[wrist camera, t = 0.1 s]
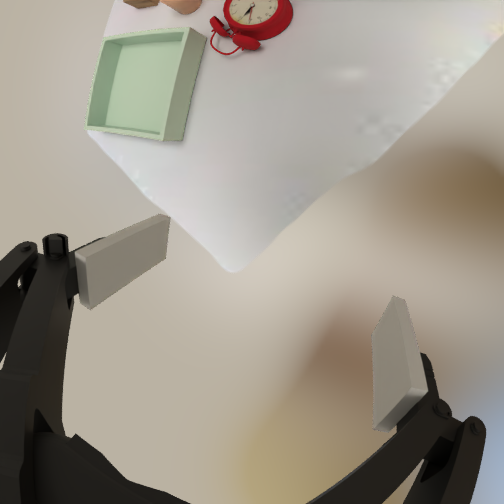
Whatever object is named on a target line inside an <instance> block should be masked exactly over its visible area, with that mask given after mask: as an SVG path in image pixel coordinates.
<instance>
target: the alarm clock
mask: <svg viewBox="0 0 504 504" xmlns="http://www.w3.org/2000/svg"><path fill="white" fill-rule="evenodd" d="M223 12H224V17H225V19H226V21H227V22H228V25H229V27H230V29H231V30H232V31H233V32H234V33H233V34H232V35H230V33H227V31H228V30H230V29H228V30H226V31H225V30H224V29H223V28H222V27H223V26H224V24H223V23H222V22H221V21H220V20H219V19H218V18H217V17H215V16H213V17H212V18H211V19H210V24H211V26H212V27H213V30H212V31H211V32H213V31H214V34H213V35H212V37H211V40H210V44H211V46H212V48H213V49H214V50H216V51H217V52H219V53H221V54H224V55H230V54H232V53H234V52H236V51H237V50H238V49H239V48H241V47H242V51H243V50H244V49H249V50H256V49H258V48H259V47H260V45H261V44H260V42H259V41H257V40H265V39H269V38H272V37H274V36H276V35H278V34H280V33H281V32H282V31H283V30H285V29H286V28H287V26H288V25H289V23H290V22H291V19H292V16H293V9H292V6H291V4H290V2H289V0H226V1H225V4H224V8H223ZM216 32H217V33H218V34H219V35H221V36H224V37H226V36H229V35H230V36H229V37H230V38H232V36H233V35H234V34H236V35H234V36H233V39H232V40H233V42H234V43H235V44H236V45H237V46H239V47H238V48H237V49H236V50H234V51H233V52H231V53H222V52H220V51H218V50H217V49H216V48H215V47H214V46H213V45H212V39H213V37H214V35H215V33H216Z"/></svg>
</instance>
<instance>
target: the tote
mask: <svg viewBox="0 0 504 504" xmlns="http://www.w3.org/2000/svg"><path fill="white" fill-rule="evenodd" d="M206 39H207V38H206V37H205V36H203V35H202V34H200V33H199V32H197V31H195V30H194V29H192V28H191V27H184V28H168V29H157V30H147V31H139V32H132V33H126V34H120V35H114V36H109V37H104V38H103V41H102V45H101V48H100V52H99V55H98V59H97V63H96V67H95V71H94V76H93V80H92V85H91V90H90V95H89V100H88V106H87V112H86V118H85V125H84V130H93V131H101V132H109V133H117V134H124V135H130V136H137V137H143V138H149V139H155V140H160V141H182V139H183V134H184V129H185V124H186V119H187V115H188V110H189V105H190V101H191V97H192V92H193V88H194V84H195V80H196V76H197V72H198V68H199V64H200V61H201V57H202V53H203V50H204V46H205V43H206Z"/></svg>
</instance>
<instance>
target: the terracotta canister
mask: <svg viewBox="0 0 504 504" xmlns="http://www.w3.org/2000/svg"><path fill="white" fill-rule="evenodd" d="M159 1H161V2H162V3H164V4H166V5H167V6H169V7H171V8H172V9H174V10H176V11H177V12H179V13H181V14H190V13H192V12H194V11H195V10H197V9H198V8H199V6H200V5H201V3H202V0H159Z"/></svg>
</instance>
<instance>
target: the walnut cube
mask: <svg viewBox="0 0 504 504" xmlns="http://www.w3.org/2000/svg"><path fill="white" fill-rule="evenodd" d="M123 2H124V3H127V4H129V5H131V6H133V7H136V8H138V9H140V8H145V7H151V6H157V5H158V3H159V0H123Z"/></svg>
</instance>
